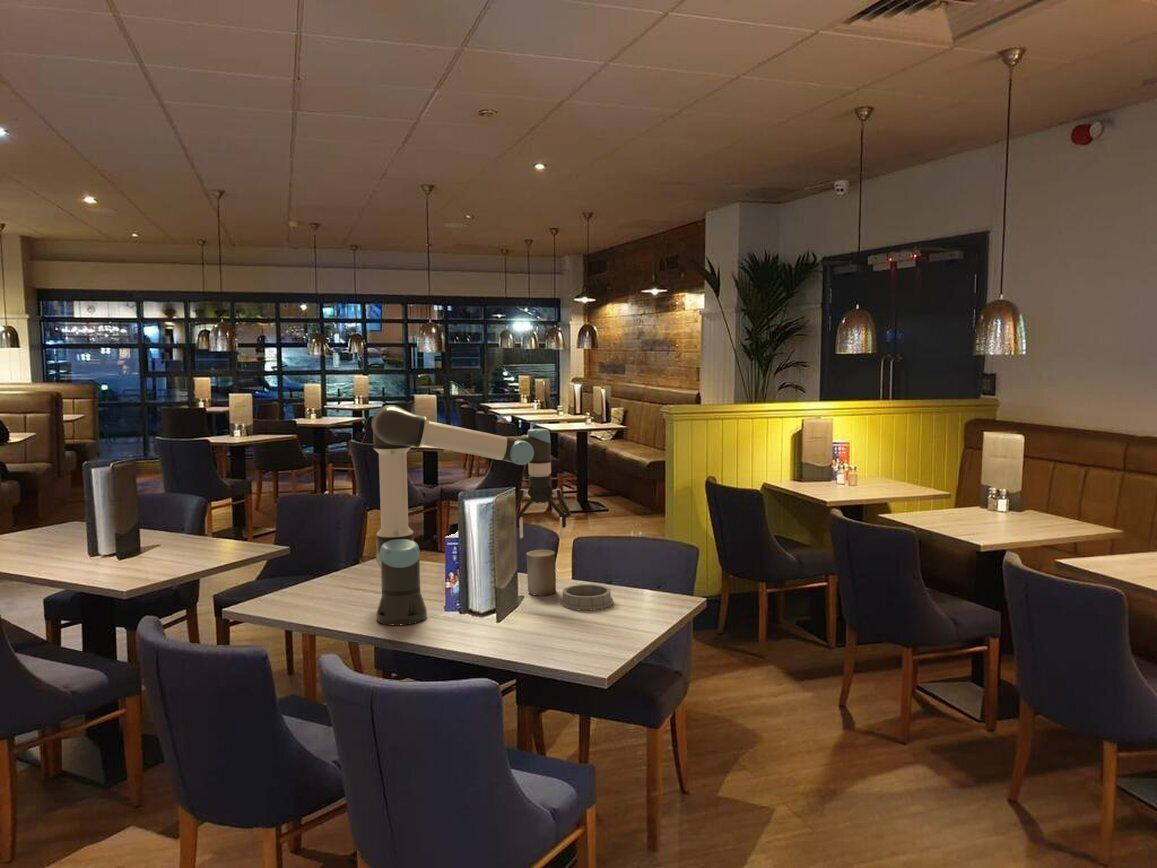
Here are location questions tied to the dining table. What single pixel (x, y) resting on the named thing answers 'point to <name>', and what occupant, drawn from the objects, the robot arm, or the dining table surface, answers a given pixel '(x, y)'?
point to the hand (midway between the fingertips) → (541, 537)
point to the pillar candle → (541, 572)
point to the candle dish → (586, 597)
